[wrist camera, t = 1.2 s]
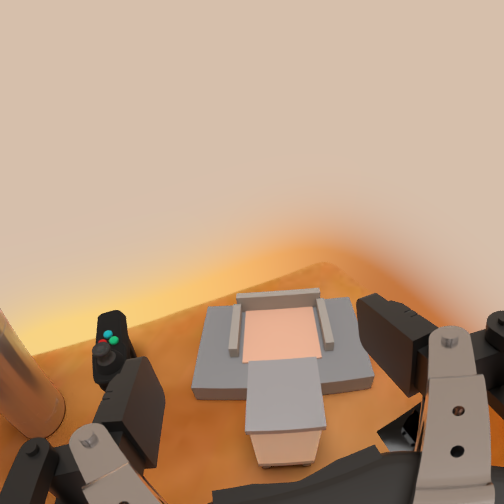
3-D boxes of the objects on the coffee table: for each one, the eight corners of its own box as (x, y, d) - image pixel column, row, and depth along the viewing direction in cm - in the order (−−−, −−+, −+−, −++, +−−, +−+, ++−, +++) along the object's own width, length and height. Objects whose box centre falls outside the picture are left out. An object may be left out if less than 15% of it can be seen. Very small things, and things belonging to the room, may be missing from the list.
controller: (122, 423, 28) (81, 372, 23) (115, 353, 38) (87, 299, 33) (155, 416, 29) (120, 363, 24) (142, 345, 39) (117, 290, 34)
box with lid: (258, 473, 23) (245, 431, 17) (259, 420, 28) (248, 361, 23) (314, 469, 22) (326, 426, 17) (310, 417, 28) (316, 356, 22)
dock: (196, 399, 31) (185, 374, 29) (211, 319, 43) (204, 292, 41) (370, 388, 30) (379, 362, 27) (347, 310, 42) (350, 282, 39)
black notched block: (439, 382, 28) (452, 359, 26) (473, 420, 22) (491, 399, 20) (359, 435, 25) (368, 416, 23) (394, 484, 19) (409, 471, 17)
